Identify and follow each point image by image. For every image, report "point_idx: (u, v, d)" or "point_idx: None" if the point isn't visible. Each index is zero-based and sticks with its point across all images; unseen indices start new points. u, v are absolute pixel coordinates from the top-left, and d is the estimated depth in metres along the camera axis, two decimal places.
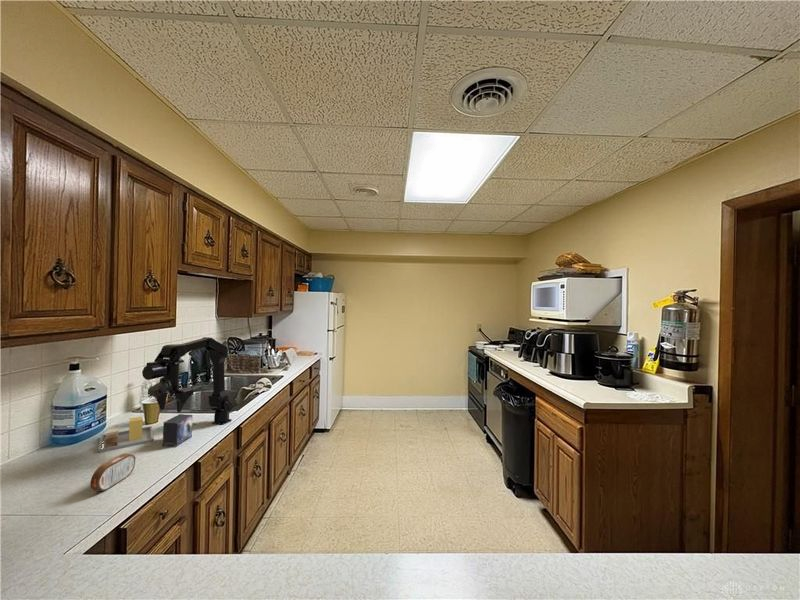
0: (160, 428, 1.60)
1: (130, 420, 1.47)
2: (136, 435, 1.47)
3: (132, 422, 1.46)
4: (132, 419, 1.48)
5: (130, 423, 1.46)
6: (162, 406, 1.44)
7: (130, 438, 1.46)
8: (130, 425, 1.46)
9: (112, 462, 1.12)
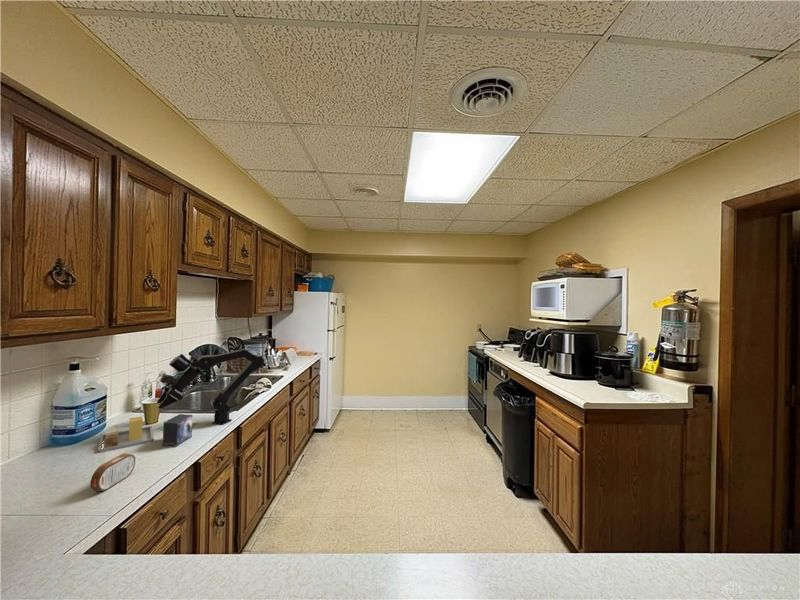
0: (160, 428, 1.60)
1: (130, 420, 1.47)
2: (136, 435, 1.47)
3: (132, 422, 1.46)
4: (132, 419, 1.48)
5: (130, 423, 1.46)
6: (160, 400, 1.57)
7: (130, 438, 1.46)
8: (130, 425, 1.46)
9: (112, 462, 1.12)
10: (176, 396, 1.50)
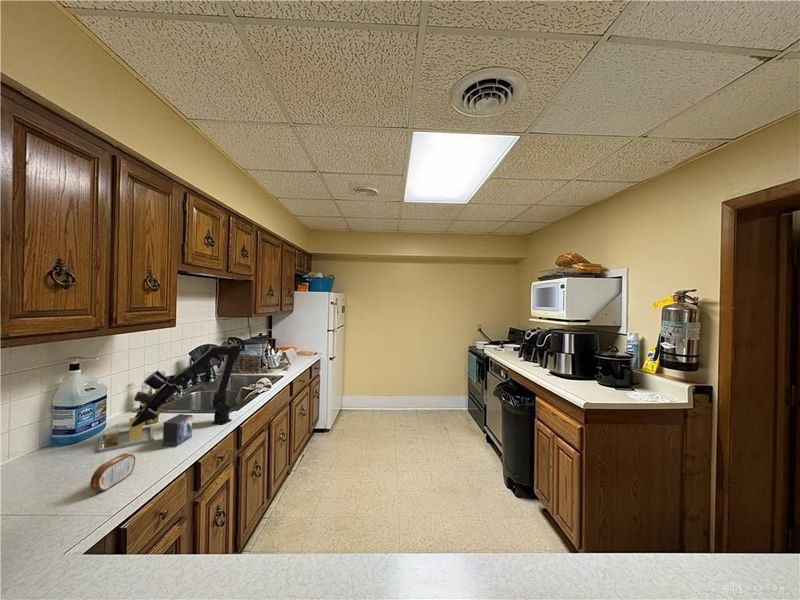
0: (160, 428, 1.60)
1: (130, 420, 1.47)
2: (136, 435, 1.47)
3: (132, 422, 1.46)
4: (132, 419, 1.48)
5: (130, 423, 1.46)
6: None
7: (130, 438, 1.46)
8: (130, 425, 1.46)
9: (112, 462, 1.12)
10: (150, 415, 1.44)
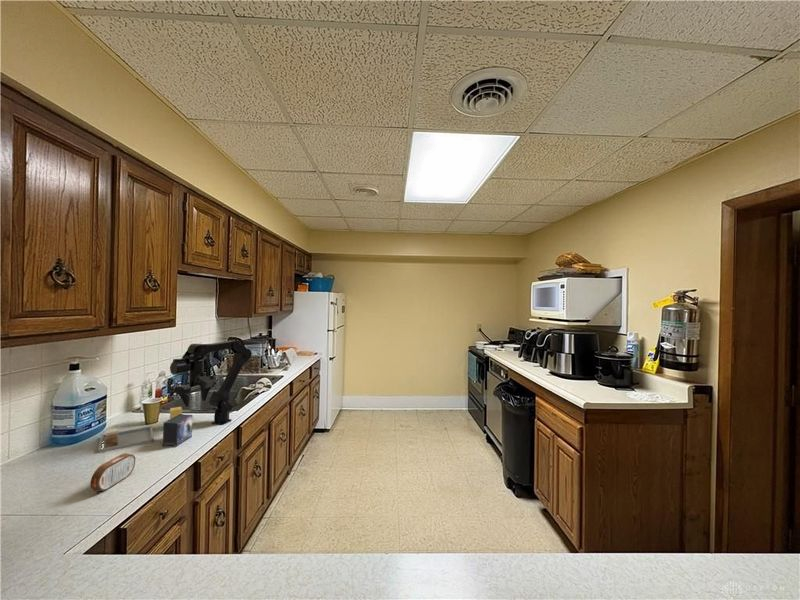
0: (160, 428, 1.60)
1: (171, 409, 1.61)
2: None
3: (173, 411, 1.60)
4: (173, 409, 1.62)
5: (171, 412, 1.60)
6: None
7: None
8: (171, 414, 1.60)
9: (112, 462, 1.12)
10: None
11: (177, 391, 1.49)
